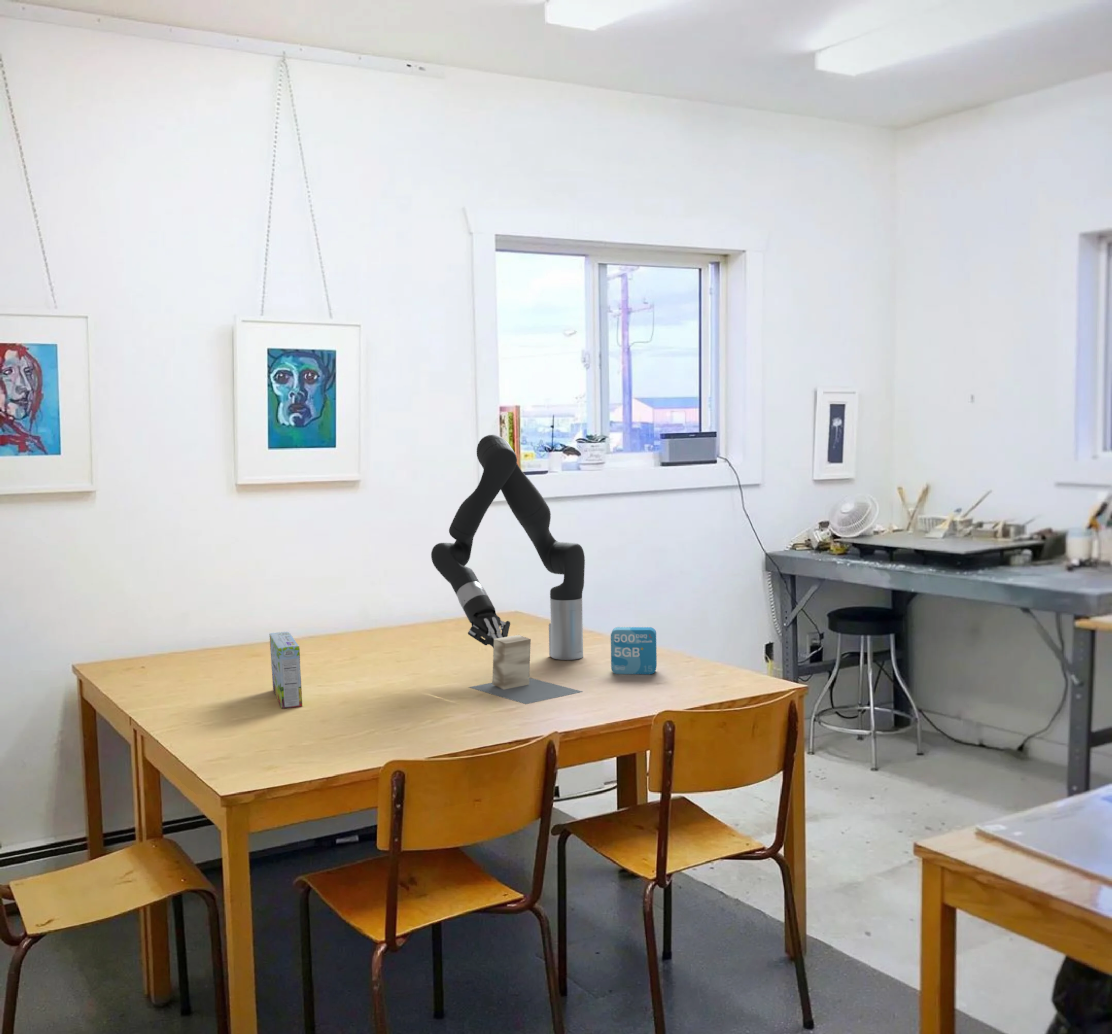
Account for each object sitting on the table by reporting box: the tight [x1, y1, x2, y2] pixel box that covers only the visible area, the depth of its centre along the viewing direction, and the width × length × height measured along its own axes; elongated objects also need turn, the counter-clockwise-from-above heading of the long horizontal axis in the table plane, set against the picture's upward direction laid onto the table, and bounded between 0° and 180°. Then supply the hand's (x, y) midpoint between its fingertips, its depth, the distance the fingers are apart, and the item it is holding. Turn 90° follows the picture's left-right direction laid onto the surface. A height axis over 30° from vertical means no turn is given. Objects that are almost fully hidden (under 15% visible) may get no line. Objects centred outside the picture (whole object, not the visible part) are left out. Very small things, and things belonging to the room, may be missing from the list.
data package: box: [610, 626, 658, 675], centre depth 291 cm, size 12×4×12 cm, turn 83°
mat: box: [468, 677, 584, 705], centre depth 273 cm, size 24×18×1 cm
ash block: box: [491, 634, 532, 690], centre depth 277 cm, size 5×8×12 cm, turn 129°
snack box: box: [269, 631, 303, 710], centre depth 270 cm, size 21×6×15 cm, turn 21°
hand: (503, 654), depth 279 cm, fingers closed
